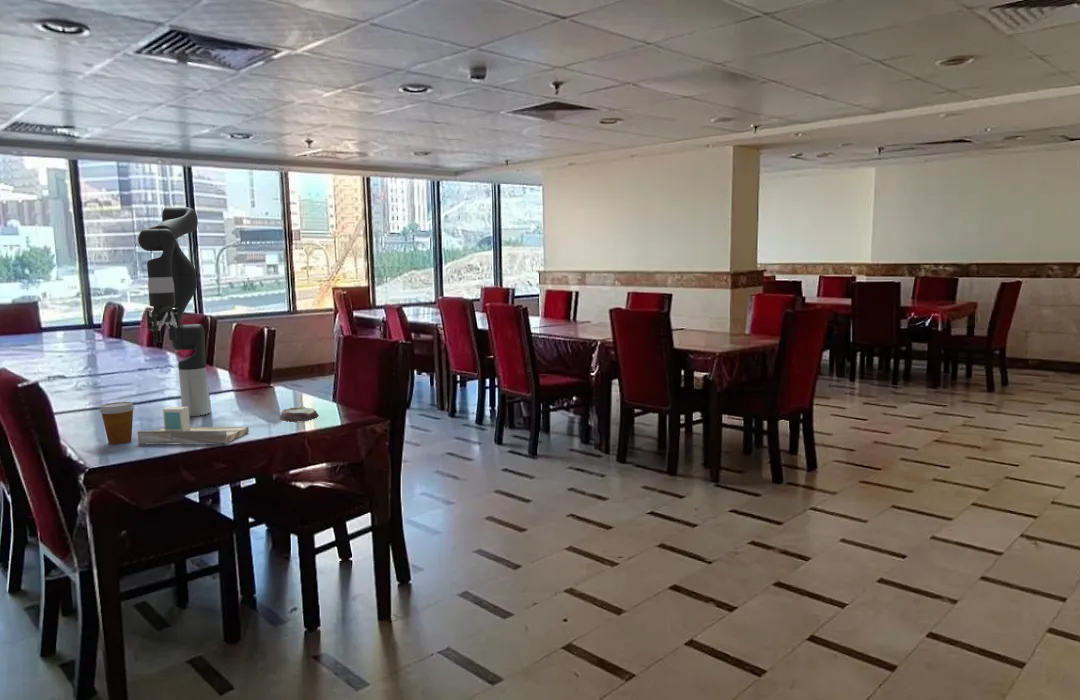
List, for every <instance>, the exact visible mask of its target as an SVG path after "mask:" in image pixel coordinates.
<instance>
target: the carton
mask: <svg viewBox="0 0 1080 700" xmlns="http://www.w3.org/2000/svg"><path fill="white" fill-rule="evenodd" d="M162 413H163V414H162V416H163V426H164V427H163V428H165V431H190V427H191V423H190V416H189V409H188V407H182V406H168V407H166V408H163V409H162Z"/></svg>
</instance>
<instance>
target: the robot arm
mask: <svg viewBox="0 0 1080 700" xmlns="http://www.w3.org/2000/svg"><path fill="white" fill-rule="evenodd" d="M198 224H199V221H198V214H197V212H196V211H195V209H194V208H192V207H187V206H186V207H185V206H182V207H175V206H173V207H171V206H169V207H168V206H167V207H165V208H163V210H162V213H161V222H160V223H158V224H156V225H153V226H149V227H146V228H144V229H142V230H141V231H140V232H139V233H138V238H137V241H138V244H139V246H140V248H141V249H142V250H144V251H146V252H162V253H161V255H160V256H159V257H155V258H151V259H149V260H148V261H147V263H146V267H147V289H148V301H149V306H150V307H153V309H152V310H147V311H146V320H147V321H146V322H147V323H146V324H147V329H148V330H150V331H151V332H152V337H153V339H152V340H153V343H155V344H160V343H162V340H163V339H162V332H161V329H162V327H163V326H164V325H166V326H167V328H168V338H169V340H170V341H171V345H172V347H173V349H174V350H176V351H191V350H195V352H194V353H193V354H191V356H189V357H186V358H184V359H181V360H180V361H178V362H177V363H178V377H179V378H178V379H179V388H180V391H179V392H180V400H181V401H180V402H181V407H188V409H189V417H200V415H201V416H206V415H209V414H210V412H211V403H210V402H211V400H210V399H211V398H210V388H209V385H208V373H207V370H208V369H207V360H206V334H205V328H204V326H203V325H202V323H201V324H200V323H192V324H190V323H189V324H182V321H183V316H184V312H185V310H186V308H187V307H188V305H189V303H190V302H191V300H192V298H193V297H194V295H195V293H196V291H197V286H198V283H197V273H196V268H195V266H194V264H193V263H192V262H191V260H190V259H189V258H188V256H186V254H185V253H184V252H183V250H182V248H181V247H180V245H179V243H178V240H177V239H179V238H180V237H182V236H184V235H187V234H190V233H195V232H196V230H197V229H198V226H199V225H198ZM208 413H209V414H208ZM205 414H206V415H205Z"/></svg>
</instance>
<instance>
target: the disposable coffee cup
mask: <svg viewBox="0 0 1080 700" xmlns="http://www.w3.org/2000/svg"><path fill="white" fill-rule="evenodd" d="M134 410H135V405H134V404H133V402H131V401H116V402H109V403H105V404H101V406H100V409H99V412H100V413H101V417H102V421H103V424H104V429H105V433H106V437H107V441H108V444H109V445H121V444H120V443H123V444H127V443H126V442H128V443H130V442H131V440H132V439H133V438H132V437H133V421H134V420H133V417H134Z"/></svg>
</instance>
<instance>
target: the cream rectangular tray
mask: <svg viewBox="0 0 1080 700" xmlns="http://www.w3.org/2000/svg"><path fill="white" fill-rule="evenodd" d="M249 430H250V429H249V426H190V431H165V428H164V427H163V428H160V429H157V430H137V432H136V433H137V442H138V445H147V444H146V443H182V444H181V445H194V444H193V443H227V442H229V443H231V442H233V441H235V440H237V439H239V438H241V437H243V436H245V435H247V434H246V433H248V432H249ZM249 433H250V432H249ZM249 433H248V434H249ZM244 434H245V435H244ZM242 435H243V436H242ZM240 436H241V437H240ZM238 437H239V438H238ZM236 438H237V439H236ZM234 439H235V440H234ZM232 440H233V441H232ZM230 441H231V442H230ZM190 443H191V444H190ZM227 444H228V443H227Z"/></svg>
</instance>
